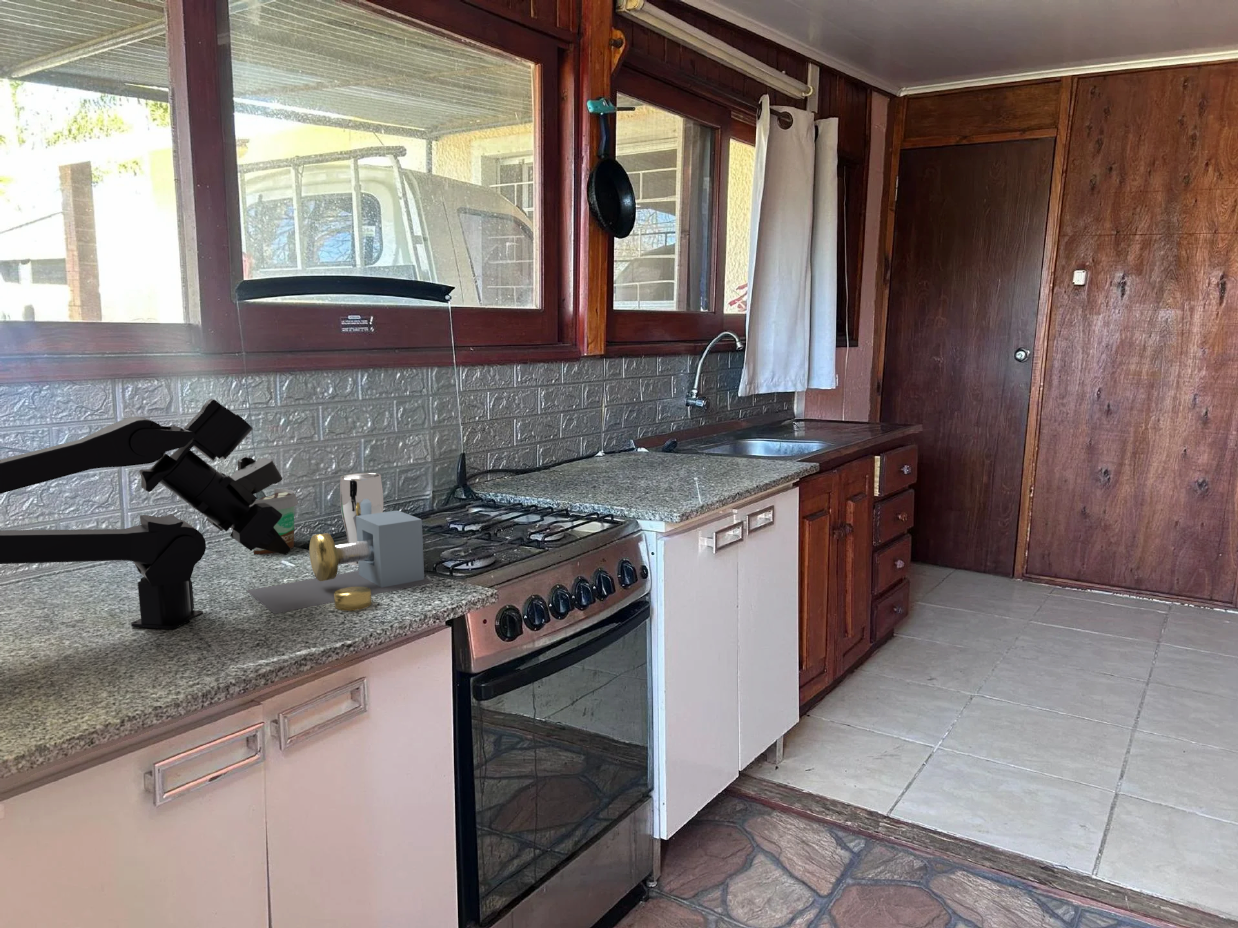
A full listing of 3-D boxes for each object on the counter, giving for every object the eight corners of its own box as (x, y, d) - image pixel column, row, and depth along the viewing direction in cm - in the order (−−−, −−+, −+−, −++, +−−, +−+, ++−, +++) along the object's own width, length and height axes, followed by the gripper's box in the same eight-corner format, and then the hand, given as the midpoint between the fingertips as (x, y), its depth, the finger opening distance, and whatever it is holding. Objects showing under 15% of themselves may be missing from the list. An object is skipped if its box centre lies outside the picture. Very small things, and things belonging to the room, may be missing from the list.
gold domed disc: (361, 615, 121) (360, 597, 120) (328, 613, 122) (327, 596, 121) (377, 604, 126) (377, 587, 125) (345, 602, 126) (344, 585, 126)
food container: (285, 556, 152) (281, 500, 151) (250, 556, 152) (246, 500, 151) (311, 540, 164) (308, 488, 163) (278, 540, 164) (275, 488, 163)
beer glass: (392, 557, 151) (388, 472, 149) (377, 568, 144) (372, 479, 142) (353, 557, 152) (349, 472, 149) (336, 567, 145) (331, 479, 142)
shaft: (327, 585, 128) (324, 539, 127) (311, 575, 133) (308, 531, 132) (421, 568, 137) (419, 525, 136) (402, 559, 142) (400, 517, 141)
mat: (274, 616, 120) (274, 613, 120) (246, 592, 131) (245, 590, 131) (433, 584, 134) (433, 582, 134) (396, 566, 145) (396, 563, 145)
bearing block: (381, 587, 132) (378, 525, 130) (359, 574, 139) (355, 516, 137) (424, 579, 136) (421, 519, 135) (400, 567, 143) (397, 510, 142)
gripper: (261, 447, 114) (347, 518, 122) (224, 435, 129) (304, 499, 137) (201, 514, 110) (294, 582, 119) (170, 493, 125) (255, 556, 133)
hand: (288, 551), depth 127 cm, fingers closed
